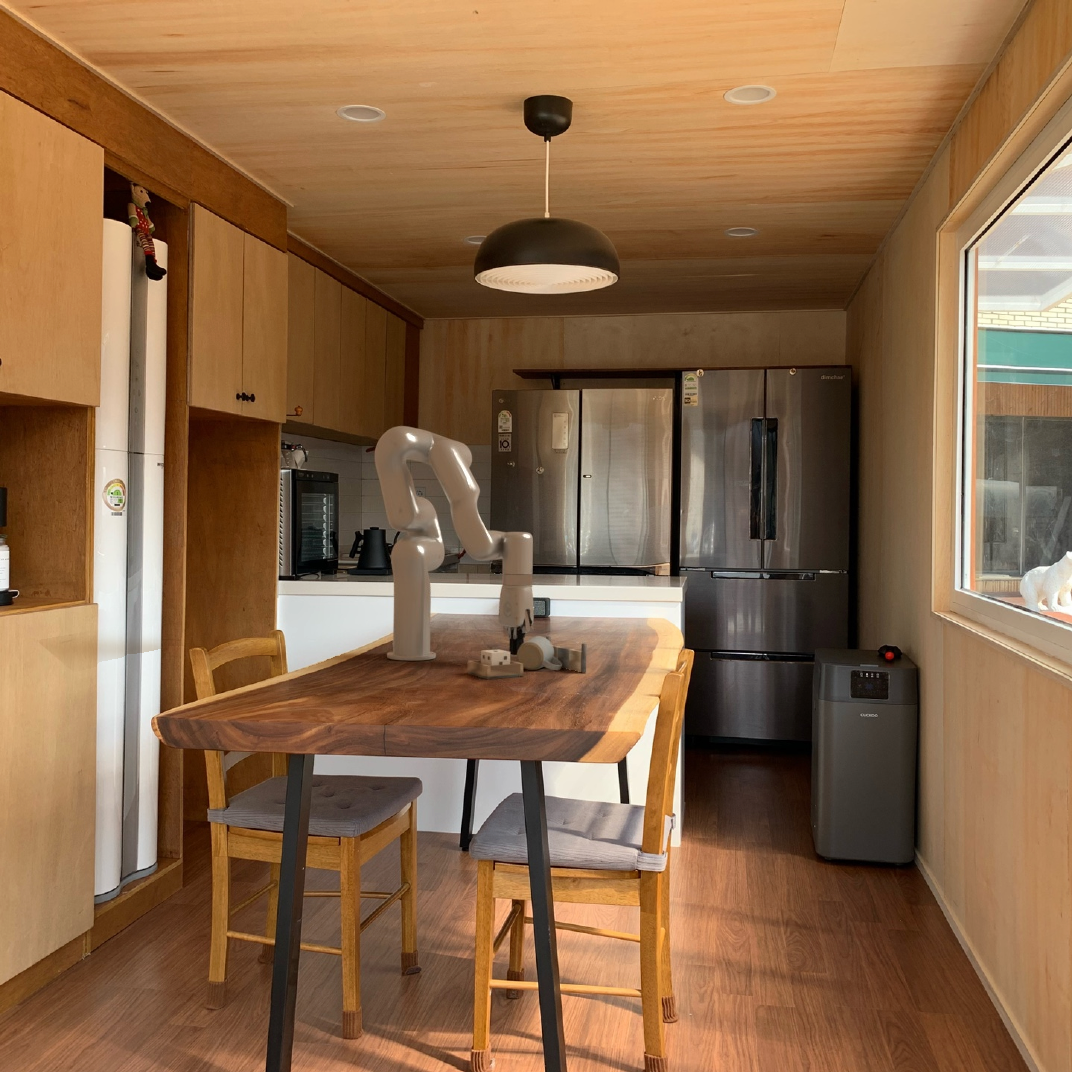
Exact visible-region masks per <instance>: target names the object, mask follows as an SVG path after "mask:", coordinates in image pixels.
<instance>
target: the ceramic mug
mask: <svg viewBox="0 0 1072 1072" xmlns="http://www.w3.org/2000/svg"><path fill="white" fill-rule="evenodd" d="M552 645H553V643H551V642H550V641H549V640H548V639H546V637H544V636H541V635H536V636H533V637H531V638H529V639H528V640H526V641H524V643H523V644H522V645H521V646H520V647H519V649H518V651H517V655H516V659H517V662H519V663H523V669H525V670H528V671H536V670H539V669H541V668H546V669H548V670H551V671H554V670H559V671H560V670H561V669H562V668H561V667H562V663H561V662H560V661H559V660H558V659H557V658H555V657H554V648H553V646H552ZM552 663H553V664H552Z"/></svg>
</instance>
